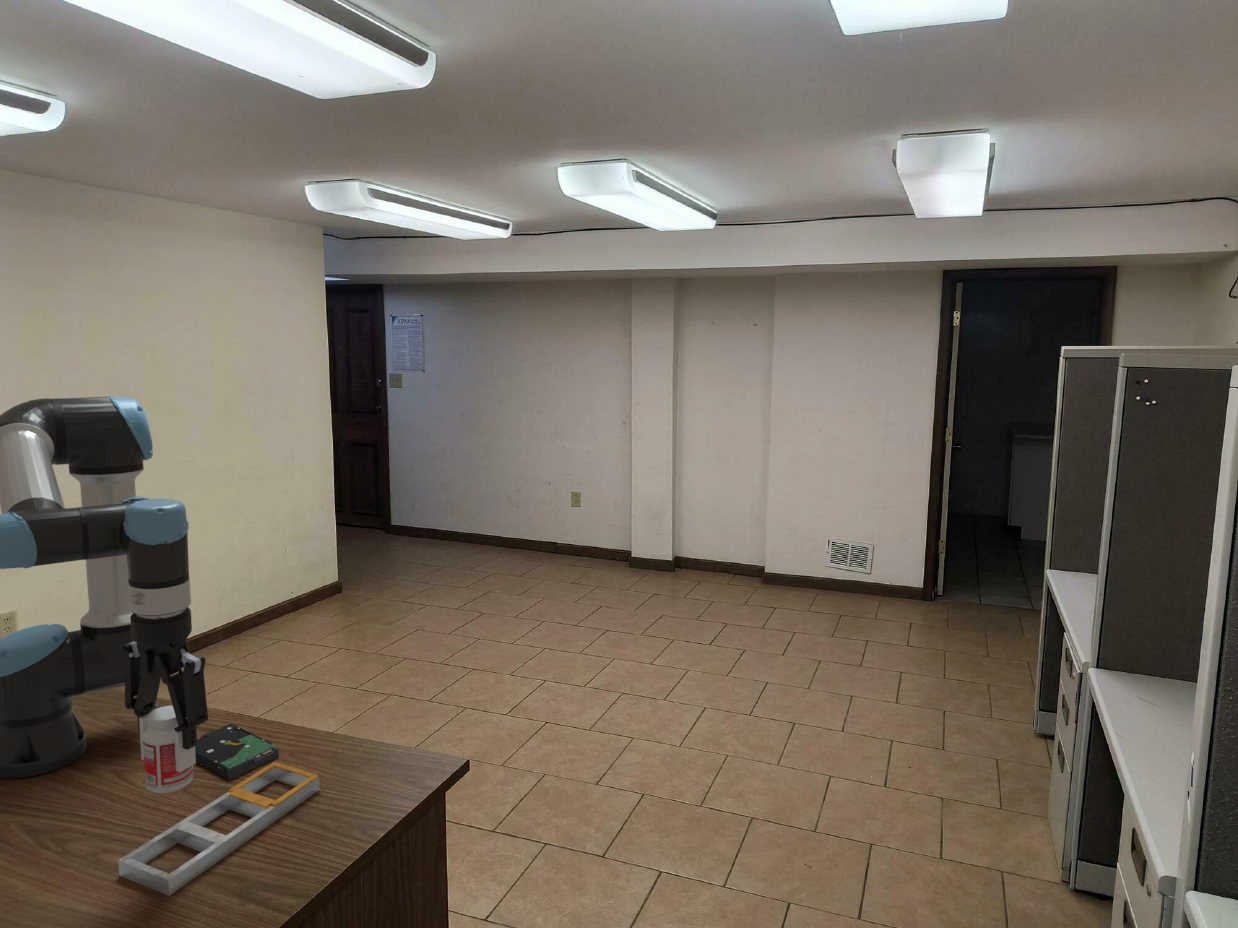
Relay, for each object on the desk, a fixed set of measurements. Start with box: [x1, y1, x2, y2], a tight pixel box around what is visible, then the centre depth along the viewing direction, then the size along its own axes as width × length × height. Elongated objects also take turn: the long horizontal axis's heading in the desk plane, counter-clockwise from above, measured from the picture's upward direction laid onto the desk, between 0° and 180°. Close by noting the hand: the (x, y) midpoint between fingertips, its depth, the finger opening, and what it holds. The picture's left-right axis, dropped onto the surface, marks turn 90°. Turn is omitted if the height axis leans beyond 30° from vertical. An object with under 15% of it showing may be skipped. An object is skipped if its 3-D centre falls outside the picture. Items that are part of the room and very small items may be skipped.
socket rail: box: [118, 761, 320, 897], centre depth 134 cm, size 10×30×3 cm, turn 158°
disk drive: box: [195, 723, 280, 781], centre depth 156 cm, size 10×3×15 cm
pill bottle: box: [143, 705, 194, 794], centre depth 122 cm, size 6×6×11 cm
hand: (168, 761), depth 122 cm, fingers closed on pill bottle, 6 cm apart
